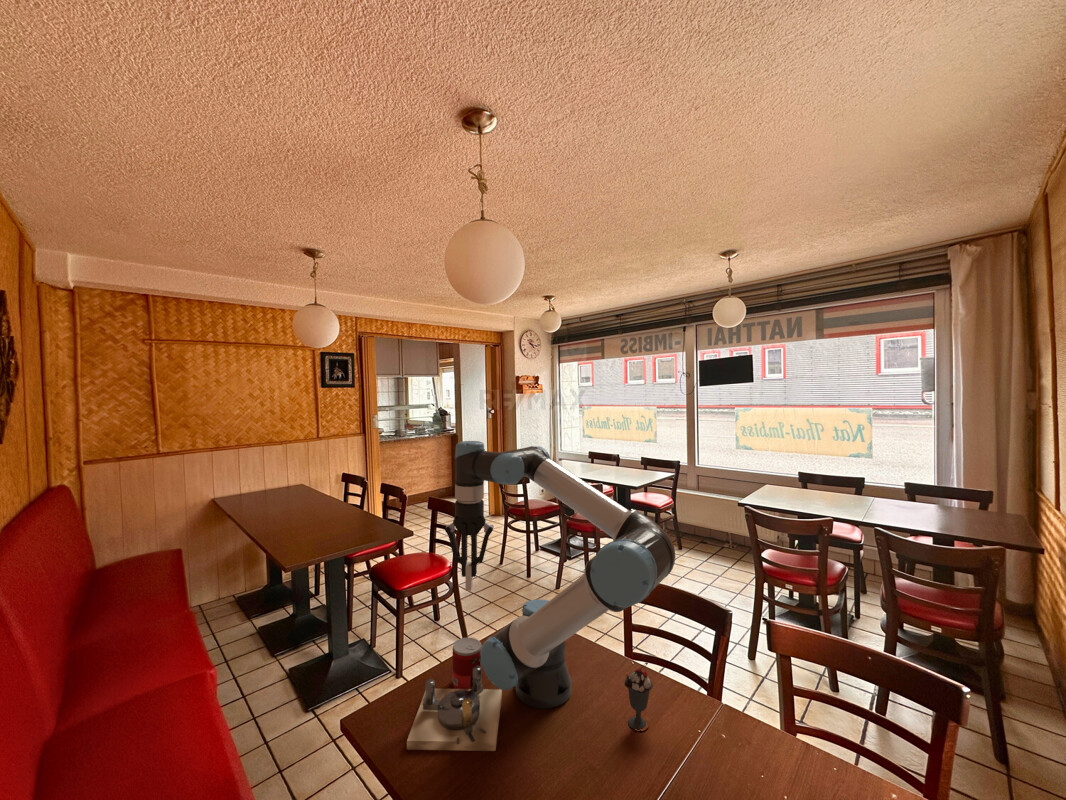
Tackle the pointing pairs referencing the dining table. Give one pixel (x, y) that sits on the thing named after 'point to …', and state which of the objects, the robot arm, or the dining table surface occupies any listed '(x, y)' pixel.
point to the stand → (437, 737)
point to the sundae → (638, 696)
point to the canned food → (465, 662)
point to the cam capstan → (456, 704)
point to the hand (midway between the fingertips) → (469, 588)
